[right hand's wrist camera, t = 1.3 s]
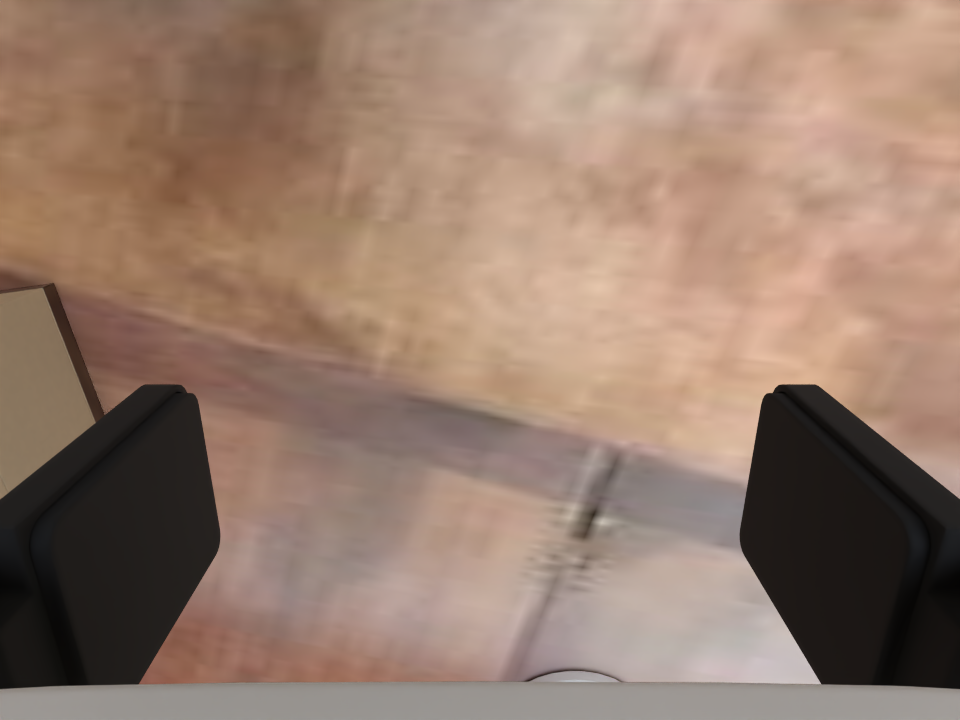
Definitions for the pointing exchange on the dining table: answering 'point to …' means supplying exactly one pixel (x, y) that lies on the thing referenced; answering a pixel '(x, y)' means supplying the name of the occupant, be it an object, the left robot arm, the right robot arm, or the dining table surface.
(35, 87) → the dining table surface
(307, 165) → the dining table surface
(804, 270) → the dining table surface
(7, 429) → the cabinet
